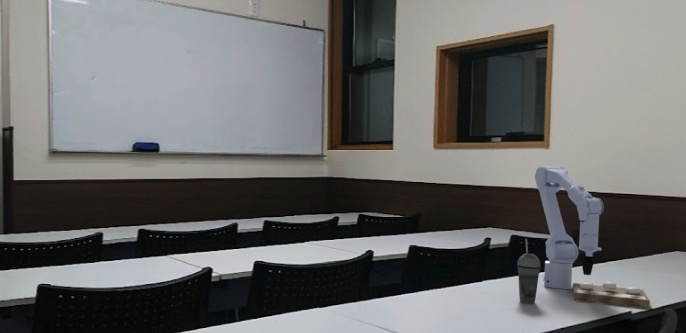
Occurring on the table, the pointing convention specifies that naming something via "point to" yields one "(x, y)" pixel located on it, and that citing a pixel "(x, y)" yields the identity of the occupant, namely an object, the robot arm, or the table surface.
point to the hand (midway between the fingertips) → (586, 274)
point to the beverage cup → (528, 276)
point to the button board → (610, 296)
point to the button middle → (609, 285)
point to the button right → (632, 290)
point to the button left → (586, 285)
